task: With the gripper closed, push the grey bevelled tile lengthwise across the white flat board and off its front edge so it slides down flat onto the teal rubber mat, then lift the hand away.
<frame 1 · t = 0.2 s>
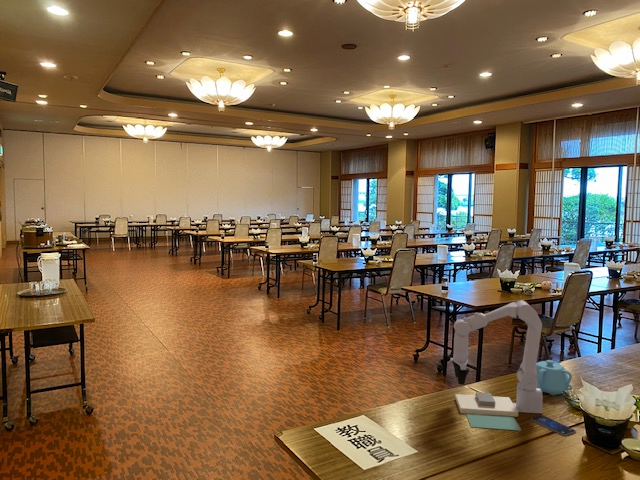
hand: (459, 380, 201), 10 cm above the table, tool pointing down, fingers open, 7 cm apart
smartphone: (552, 427, 183), on the table
white flat board: (485, 407, 198), on the table
decorative pot: (548, 390, 217), on the table
mat: (492, 422, 185), on the table
grey bevelled tile: (485, 401, 199), point 2 cm above the table, touching white flat board
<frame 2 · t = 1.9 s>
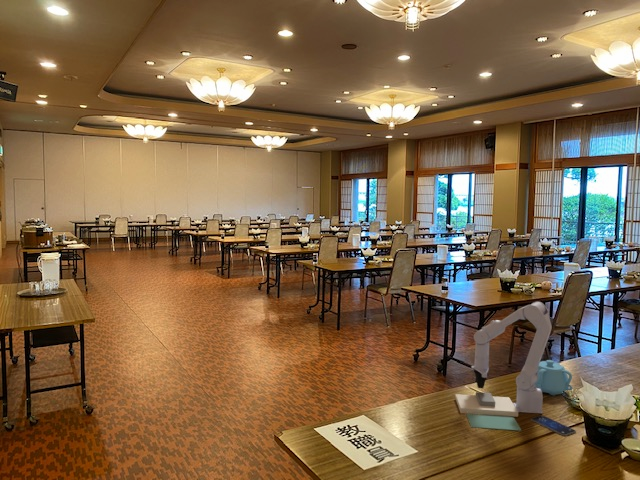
hand: (480, 387, 209), 4 cm above the table, tool pointing down, fingers closed
nothing on the table moved.
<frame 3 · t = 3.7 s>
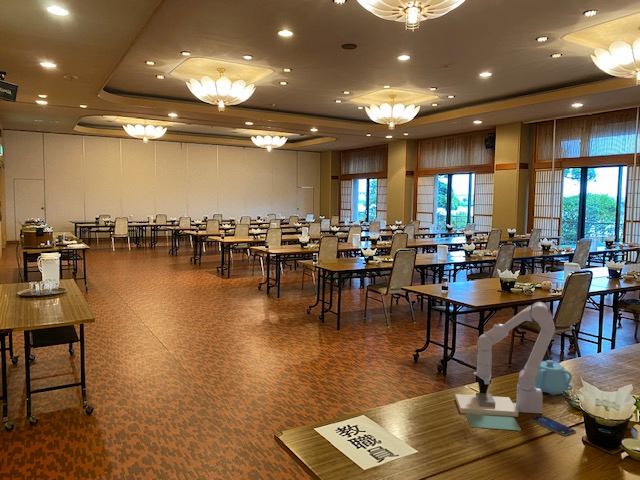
hand: (482, 394, 204), 3 cm above the table, tool pointing down, fingers closed
grey bevelled tile: (485, 402, 198), point 2 cm above the table, touching white flat board, gripper
everything else where it was.
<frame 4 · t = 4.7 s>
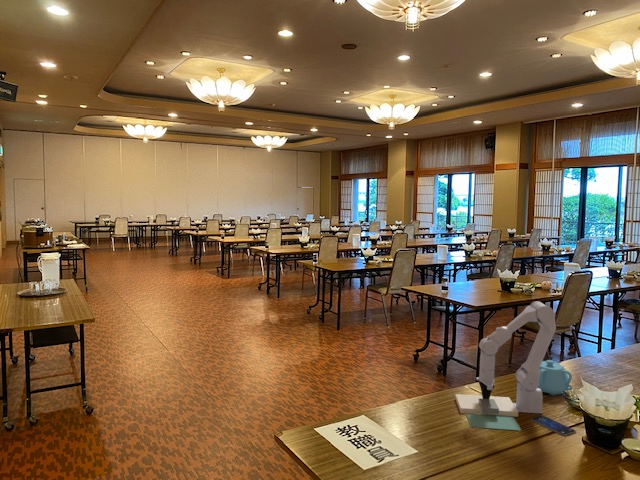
hand: (485, 400, 198), 3 cm above the table, tool pointing down, fingers closed
grey bevelled tile: (488, 408, 193), point 2 cm above the table, touching gripper
everything else where it was.
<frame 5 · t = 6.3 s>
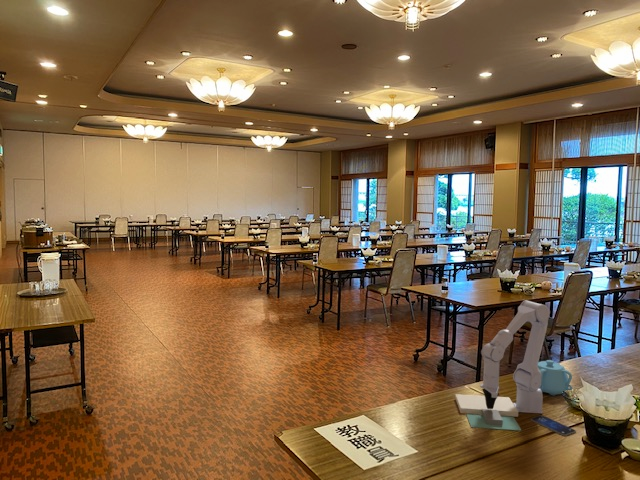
hand: (489, 408, 190), 3 cm above the table, tool pointing down, fingers closed
grey bevelled tile: (491, 419, 187), resting on mat
everything else where it was.
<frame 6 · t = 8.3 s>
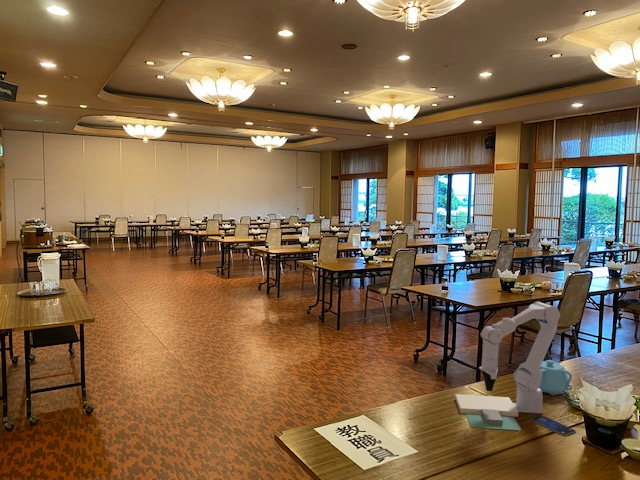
hand: (489, 390, 192), 9 cm above the table, tool pointing down, fingers closed
nothing on the table moved.
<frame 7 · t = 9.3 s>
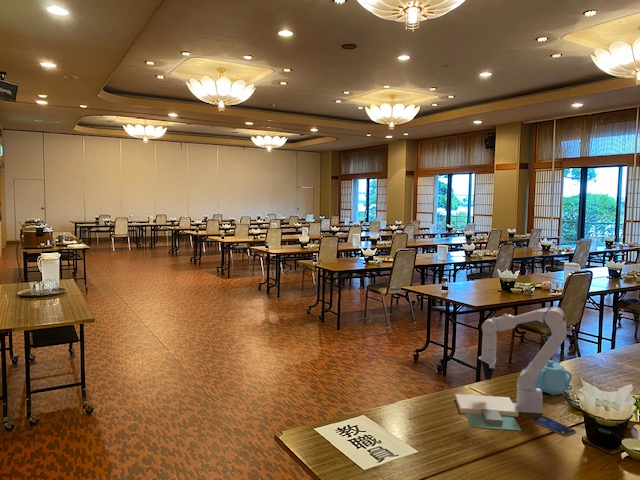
hand: (487, 379, 204), 9 cm above the table, tool pointing down, fingers closed
nothing on the table moved.
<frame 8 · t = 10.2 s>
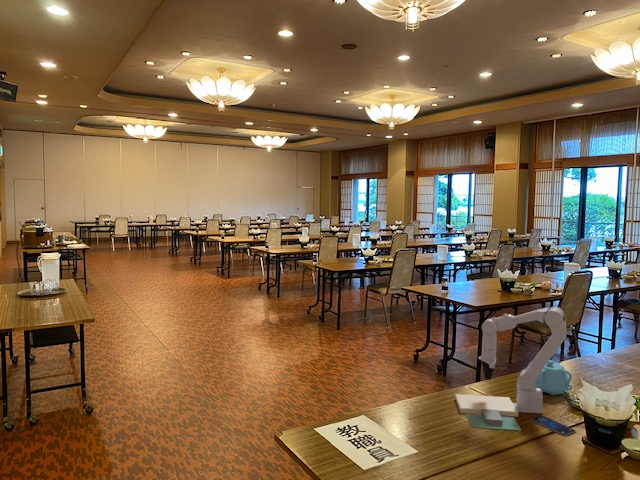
hand: (487, 379, 204), 9 cm above the table, tool pointing down, fingers closed
nothing on the table moved.
at the end: grey bevelled tile inside the target area (3.2 cm from its centre), resting on mat; grey bevelled tile tilted 0°; the gripper is holding nothing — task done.
